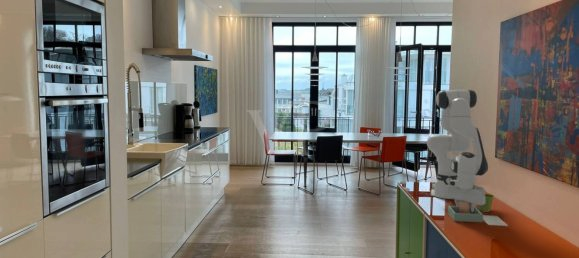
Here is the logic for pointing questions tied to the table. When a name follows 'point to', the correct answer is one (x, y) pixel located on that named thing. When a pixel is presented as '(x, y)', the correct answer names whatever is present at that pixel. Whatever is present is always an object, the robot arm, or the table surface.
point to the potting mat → (493, 220)
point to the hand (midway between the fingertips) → (464, 209)
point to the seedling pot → (464, 207)
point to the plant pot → (487, 205)
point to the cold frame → (465, 215)
